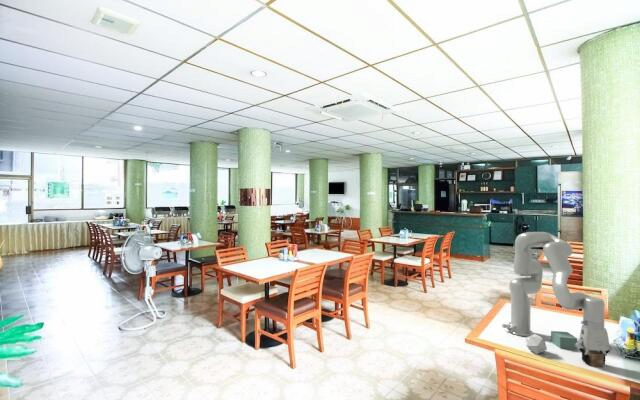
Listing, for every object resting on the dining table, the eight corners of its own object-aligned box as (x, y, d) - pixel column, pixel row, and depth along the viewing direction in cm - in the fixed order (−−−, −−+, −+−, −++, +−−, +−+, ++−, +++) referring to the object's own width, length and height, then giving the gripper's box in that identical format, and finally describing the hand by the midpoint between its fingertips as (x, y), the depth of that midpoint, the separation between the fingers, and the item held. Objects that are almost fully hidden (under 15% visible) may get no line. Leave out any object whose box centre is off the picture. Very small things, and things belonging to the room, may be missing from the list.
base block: (560, 348, 163) (560, 337, 163) (551, 342, 171) (551, 330, 171) (577, 349, 162) (577, 338, 162) (567, 343, 170) (567, 331, 170)
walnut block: (591, 366, 145) (591, 353, 145) (583, 361, 150) (583, 348, 150) (603, 367, 145) (603, 354, 145) (595, 361, 150) (595, 349, 150)
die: (531, 347, 166) (520, 332, 165) (549, 343, 161) (538, 327, 160) (533, 359, 158) (521, 344, 158) (552, 356, 154) (540, 339, 153)
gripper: (579, 326, 145) (579, 365, 145) (620, 328, 143) (620, 367, 143) (568, 320, 152) (568, 357, 152) (607, 322, 151) (606, 359, 150)
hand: (593, 362), depth 148 cm, fingers open, 6 cm apart
